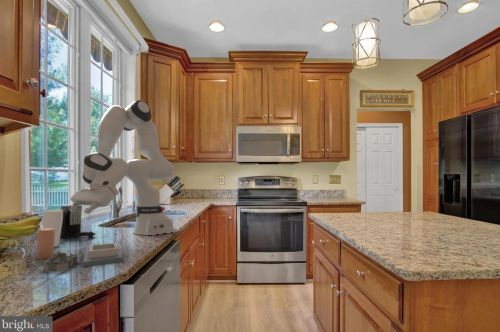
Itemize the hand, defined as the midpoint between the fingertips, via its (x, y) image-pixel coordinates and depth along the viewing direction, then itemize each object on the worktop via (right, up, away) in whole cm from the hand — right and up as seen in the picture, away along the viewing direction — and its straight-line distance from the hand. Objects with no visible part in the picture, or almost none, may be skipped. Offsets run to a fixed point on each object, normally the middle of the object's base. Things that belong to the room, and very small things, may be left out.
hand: (78, 211), depth 109 cm
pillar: (-5, -15, -12) cm, 19 cm away
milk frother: (-14, -16, +20) cm, 29 cm away
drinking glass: (-13, -15, +2) cm, 20 cm away
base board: (+16, -15, -10) cm, 24 cm away
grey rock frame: (+7, -15, -20) cm, 26 cm away
